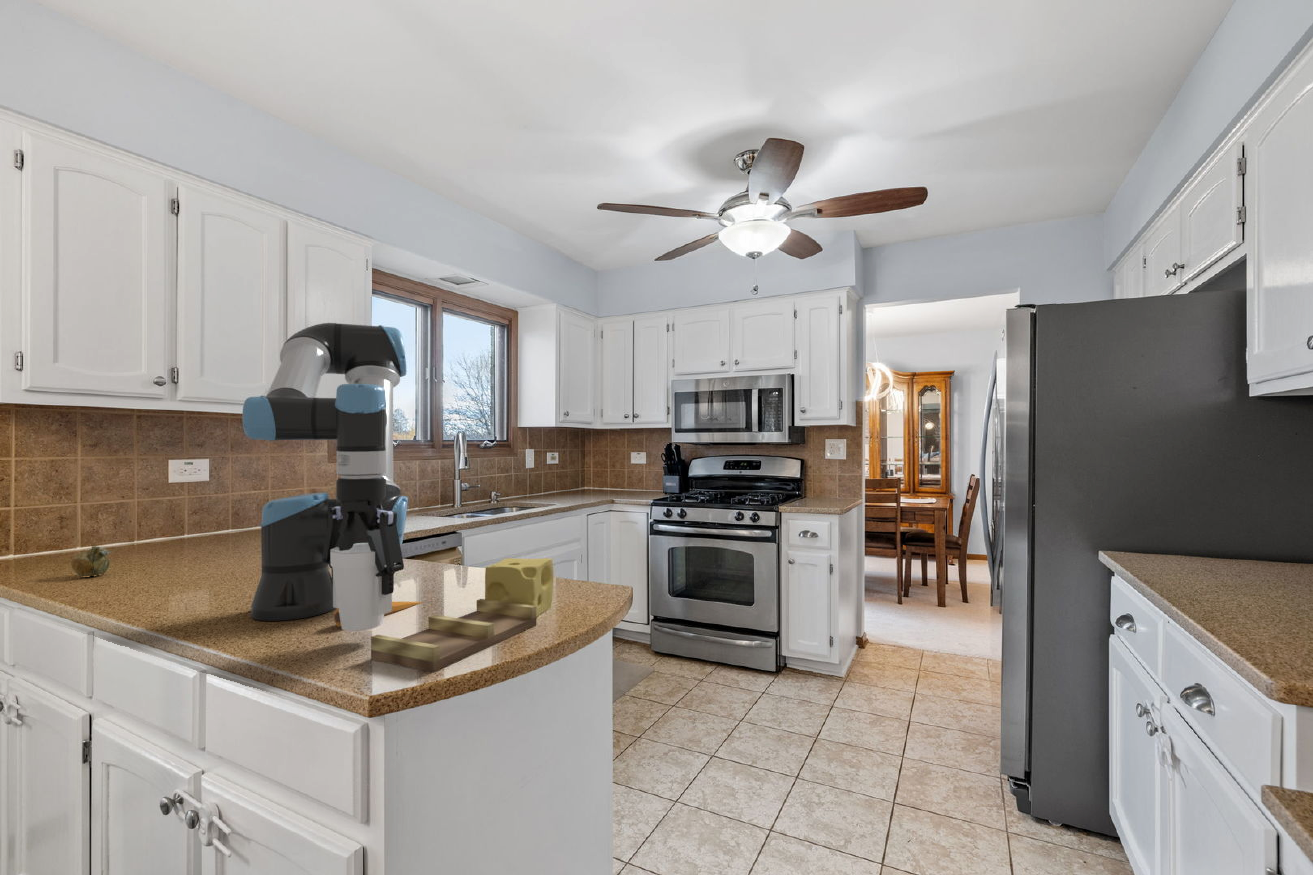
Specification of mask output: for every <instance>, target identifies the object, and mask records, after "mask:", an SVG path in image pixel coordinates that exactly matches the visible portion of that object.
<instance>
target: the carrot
mask: <svg viewBox="0 0 1313 875" xmlns="http://www.w3.org/2000/svg"><path fill="white" fill-rule="evenodd" d="M421 603H423V602H422V601H392V611H391V612H389V613H386V614H384V617H385V616H388V615H392V614H394V613H397V612H400V611H403V610H406V609H409V608H412V607H414V606H417V605H418V604H419V605H420V604H421ZM416 604H417V605H416ZM413 605H414V606H413ZM411 606H412V607H411ZM405 608H406V609H405ZM402 609H403V610H402ZM393 612H394V613H393ZM333 621H334V623H335V625H336V627H339V628H342V627H341V621H340V615H339V608H338V607H337V608H335V611H334V615H333Z"/></svg>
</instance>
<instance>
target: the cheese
mask: <svg viewBox="0 0 1313 875" xmlns="http://www.w3.org/2000/svg"><path fill="white" fill-rule="evenodd" d="M554 578H555V576H554V563H553V558H550V557H549V558H513V557H512V558H511V557H508V558H507V557H506V558H505V559H504V558H503V559H502V560H500V561H497V562H496V563H494V564H491V565H488V566H486V567H485V571H484V599H486V600H493V601H501V602H509V603H516V604H524V605H532V606H536V619H538V617H539V616H540V615H542V614H543V613H544V612H545V611H547V610H549V609H551V607H552V601H553V593H554V582H555V581H554V580H555V579H554Z"/></svg>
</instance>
